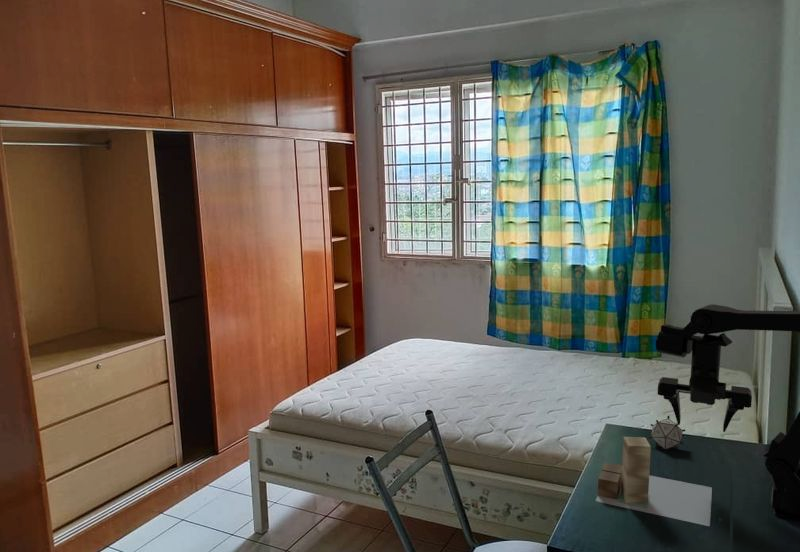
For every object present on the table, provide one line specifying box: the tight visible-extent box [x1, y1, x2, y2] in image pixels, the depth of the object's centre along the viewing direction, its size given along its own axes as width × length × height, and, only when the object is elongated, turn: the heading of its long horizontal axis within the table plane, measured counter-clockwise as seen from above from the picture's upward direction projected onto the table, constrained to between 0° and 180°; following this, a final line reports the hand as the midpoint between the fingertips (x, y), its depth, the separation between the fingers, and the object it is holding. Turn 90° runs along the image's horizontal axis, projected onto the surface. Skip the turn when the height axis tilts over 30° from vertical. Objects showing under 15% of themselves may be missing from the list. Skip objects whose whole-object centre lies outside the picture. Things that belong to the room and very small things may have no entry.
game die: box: [647, 415, 686, 450], centre depth 159 cm, size 9×8×10 cm
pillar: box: [621, 436, 652, 504], centre depth 133 cm, size 4×4×13 cm
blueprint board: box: [595, 474, 713, 527], centre depth 136 cm, size 22×17×1 cm
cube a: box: [597, 470, 621, 500], centre depth 136 cm, size 4×4×4 cm
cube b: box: [601, 461, 622, 489], centre depth 140 cm, size 4×4×4 cm
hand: (701, 427), depth 141 cm, fingers open, 9 cm apart
